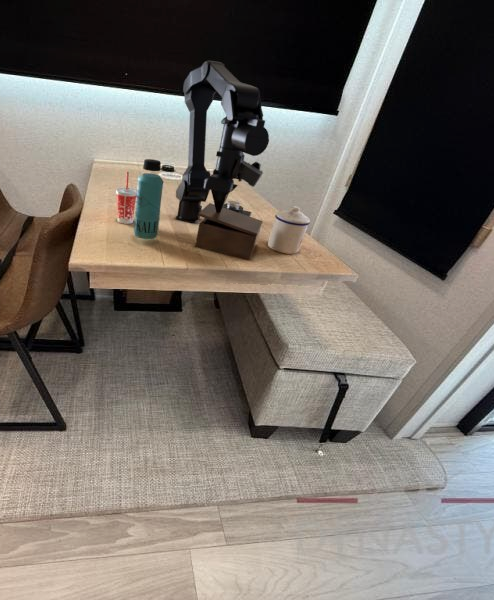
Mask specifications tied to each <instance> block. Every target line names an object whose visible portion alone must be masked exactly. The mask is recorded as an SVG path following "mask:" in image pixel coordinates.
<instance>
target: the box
mask: <svg viewBox="0 0 494 600" xmlns="http://www.w3.org/2000/svg"><path fill="white" fill-rule="evenodd" d="M262 225H263V223H262V224H261V226H260V229H259V231H258V233H257V236H254V235H251V234H248V233H246V232H243V231H240V230H237V229H234V228H231V227H229V226H226V225H223V224H220V223H217V222H215V221H212V220H209V219H206V218H203V219H202V220H201V221H200V222H199V224H198V229H197V234H196V235H197V236H196V239H195V240H196V241H195V247H196V248H201V249H205V250H209V251H212V252H217V253H220V254H224V255H228V256H232V257H237V258H241V259H245V260H249V261H250V260H251V258H252V256H253V253H254V250H255V248H256V246H257V242H258V239H259V235H260V232H261V227H262Z"/></svg>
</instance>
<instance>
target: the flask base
mask: <svg viewBox="0 0 494 600" xmlns="http://www.w3.org/2000/svg"><path fill="white" fill-rule="evenodd" d="M227 204H228V202H225V204H224V206H223V208H226V209H229V210H232V211H235V212H238V213H241V214H243V215H246V216H249V217H252V211H249V210H244V207H243V206H242V205H239V209H233V208H229V207H227Z"/></svg>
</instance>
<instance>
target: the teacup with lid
mask: <svg viewBox="0 0 494 600" xmlns="http://www.w3.org/2000/svg"><path fill="white" fill-rule="evenodd" d="M300 210H301V209H300V207H299V206H295V205H294V206H292V207H291V209H286V210H282V211H281V210H280V211H278V212H276V214H275V215H274V221H273V225H272V228H271V231H270V235H269V238H268V241H267V245H268V247H269V248H270V249H271V250H273V251H276V252H278V253H282V254H289V255H291V254H292V255H293V254H294V255H295V254H297V253H299V251H300V248H301V246H302V243H303V240H304V237H305V235H306V232H307V229H308V226H309V225H310V223H311V220H310V218H309V217H308V216H306V215H305V214H304V213H303V212H301V211H300Z"/></svg>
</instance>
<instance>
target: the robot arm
mask: <svg viewBox="0 0 494 600" xmlns="http://www.w3.org/2000/svg"><path fill="white" fill-rule="evenodd" d="M182 87H183V89H182V91H183V93H184V104H185V105H186V107H187V109H188V112H189V127H188V128H189V131H188V159H187V160H188V161H187V168H186V169H185V171H184V173H183V174H182V176H181V177H182V178H181V182H180V183H179V185H178V187H177V188H176V189H175V198H176V199H177V200H178V201H179V202H178V208H177V209H178V210H177V215H176V216H175V220H178V221H183V222H188V223H192V224H195V223H197V221H199V220H200V219H201V216H198V213H199V212H200V211H201V210H203V206H202V203H206V202H207V200H208V197H209V194H210V191H211V196H212V199H213V204H214V205H215V209H216V212H218V213H220V212H221V210H222V208H223V206H224V204H226V201H227V199H228V197H229V194H230V193H232V192H233V191H234V190H235V189H236V188H237V187H238V186H239V185H238V184H235V182H234V181H235V180H238V181H237V182H242V181H244V182H246V183H247V184H248V185H249V186H251V187H256V185H257V183H258V181H259V180H260V179H261V178H262V175H263V174H264V172H263V170H261V166H262V165H261V162H258V161H254V162H253V163H250V162H247V161H245V157H246V155H245V154H247V155H249V156H253V157H256V156H259V155H261V154H262V153H264V152H265V151H266V150H267V147H268V146H269V143H270V135H269V131H268V129H267V128H266V127H265V125H266V120H264V112H263V108H262V99H261V93H260V89H259V88H258V87H257V86H254V85H251V84H247V83H243V82H241V81H240V80H238V78H237V77H235V76H234V75H233V74H232V72H230V70H228V68H227V67H226V65H225V63H223V62H220V61H215V60H210V59H209V60H206V61H204V62H203V63H202V65H201V66H198V67H197V68H195V69H193V70H191V71H190V72H189V74H188V75H187V76H186V78H185V79H184V81H183V86H182ZM216 94H218V95H219V96H220V97H221V102H220V106H221V107H222V109H223V111H224V113H225V117H223V118H222V119H221V120H220V123H221V125H223V126H222V133H221V137H220V143H219V148H218V150H217V151H216V154H215V157H217V159H216V164H215V168H214V169H213V171H212V174H211V171H210V170H207V168H206V166H205V161H206V160H205V159H206V141H207V140H206V139H207V138H206V136H207V120H208V119H207V115H208V110H209V109H210V107H211V105H212V103H213V102H214V97H215V95H216Z"/></svg>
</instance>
